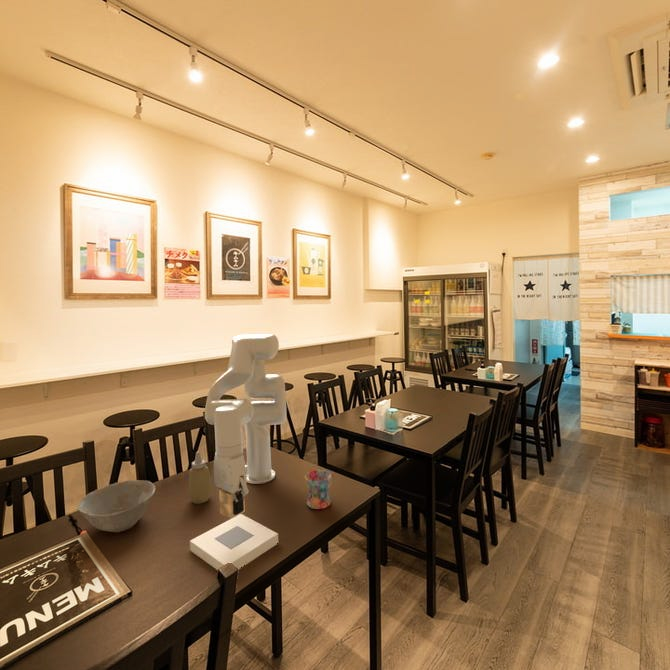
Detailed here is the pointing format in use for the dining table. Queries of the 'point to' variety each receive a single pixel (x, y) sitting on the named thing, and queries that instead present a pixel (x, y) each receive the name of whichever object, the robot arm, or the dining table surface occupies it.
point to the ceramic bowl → (117, 505)
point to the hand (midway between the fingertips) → (232, 509)
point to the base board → (234, 542)
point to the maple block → (227, 503)
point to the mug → (318, 488)
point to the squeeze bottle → (199, 481)
